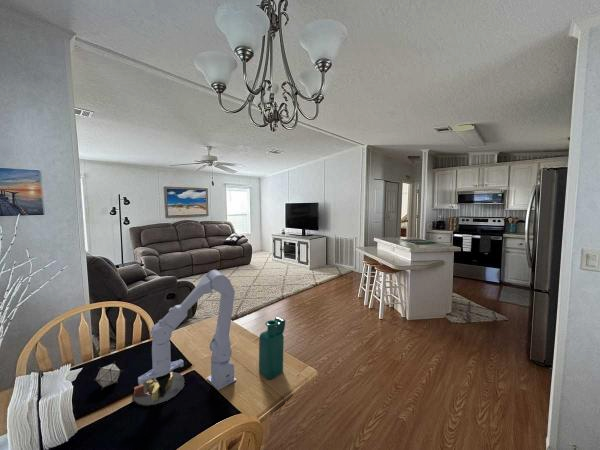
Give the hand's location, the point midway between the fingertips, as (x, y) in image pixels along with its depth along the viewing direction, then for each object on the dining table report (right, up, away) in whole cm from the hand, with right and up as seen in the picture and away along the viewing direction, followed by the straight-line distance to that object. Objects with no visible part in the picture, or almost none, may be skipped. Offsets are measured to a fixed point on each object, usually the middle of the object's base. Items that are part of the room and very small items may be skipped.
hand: (162, 393), depth 93 cm
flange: (-4, -2, +5) cm, 7 cm away
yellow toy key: (-3, -1, +4) cm, 5 cm away
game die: (-24, -2, +7) cm, 25 cm away
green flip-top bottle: (+38, -2, +17) cm, 41 cm away
